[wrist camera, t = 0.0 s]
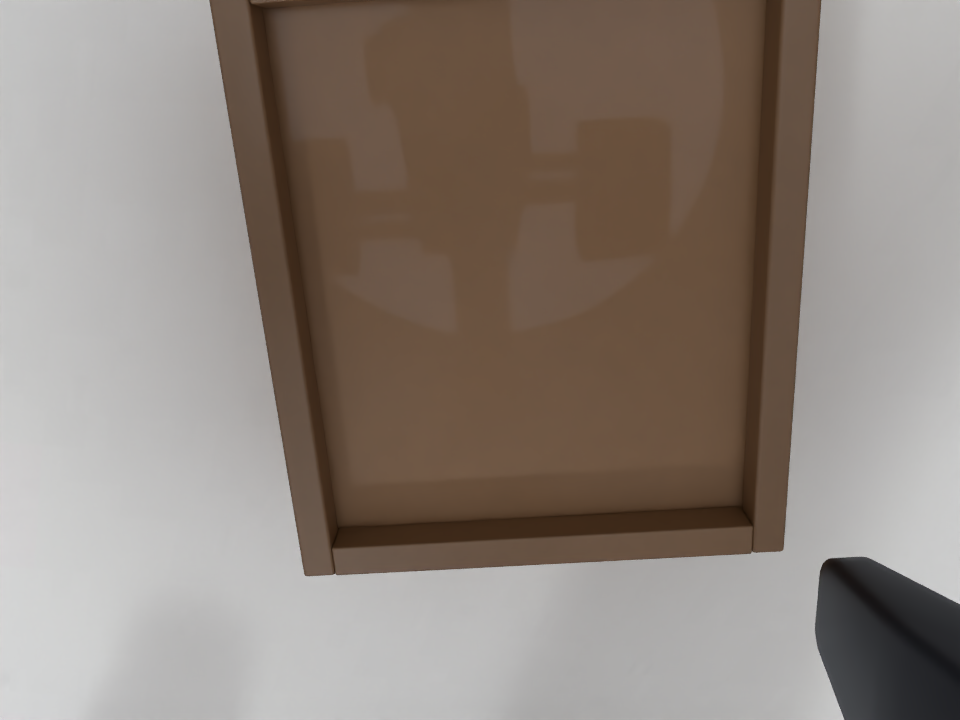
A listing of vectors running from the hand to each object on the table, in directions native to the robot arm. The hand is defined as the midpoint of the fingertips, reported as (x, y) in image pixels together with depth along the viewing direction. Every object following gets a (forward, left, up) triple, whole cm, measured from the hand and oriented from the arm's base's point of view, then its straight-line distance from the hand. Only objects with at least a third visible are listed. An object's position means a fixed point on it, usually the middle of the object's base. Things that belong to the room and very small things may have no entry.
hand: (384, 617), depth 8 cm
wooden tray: (+1, -2, -15) cm, 15 cm away
